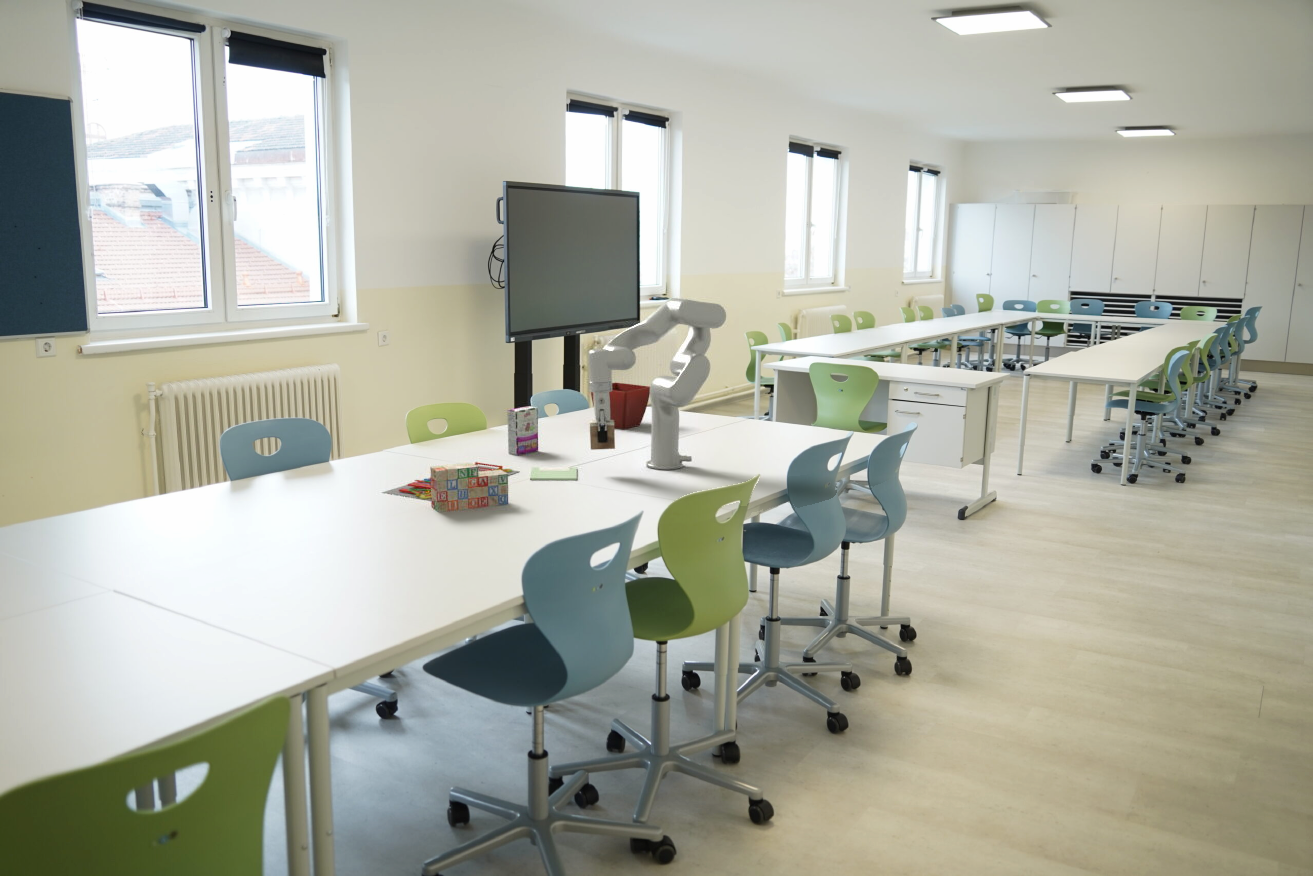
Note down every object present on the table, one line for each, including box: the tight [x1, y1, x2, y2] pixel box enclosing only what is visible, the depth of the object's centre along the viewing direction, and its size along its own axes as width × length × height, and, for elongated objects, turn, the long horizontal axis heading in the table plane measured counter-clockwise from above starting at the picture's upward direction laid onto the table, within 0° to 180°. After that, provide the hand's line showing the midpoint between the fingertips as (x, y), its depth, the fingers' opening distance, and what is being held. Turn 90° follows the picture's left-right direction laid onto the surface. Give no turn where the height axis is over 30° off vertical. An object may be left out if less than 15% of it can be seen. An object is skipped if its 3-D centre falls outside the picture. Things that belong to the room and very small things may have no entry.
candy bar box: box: [507, 405, 539, 456], centre depth 358 cm, size 11×5×16 cm, turn 143°
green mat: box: [529, 466, 578, 481], centre depth 327 cm, size 15×16×1 cm
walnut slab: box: [589, 419, 616, 451], centre depth 327 cm, size 8×4×9 cm, turn 95°
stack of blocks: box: [429, 462, 509, 512], centre depth 285 cm, size 21×6×12 cm, turn 118°
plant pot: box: [590, 382, 650, 430], centre depth 415 cm, size 19×19×17 cm
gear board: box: [381, 461, 520, 502], centre depth 314 cm, size 45×2×19 cm
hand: (602, 440), depth 327 cm, fingers closed on walnut slab, 4 cm apart
